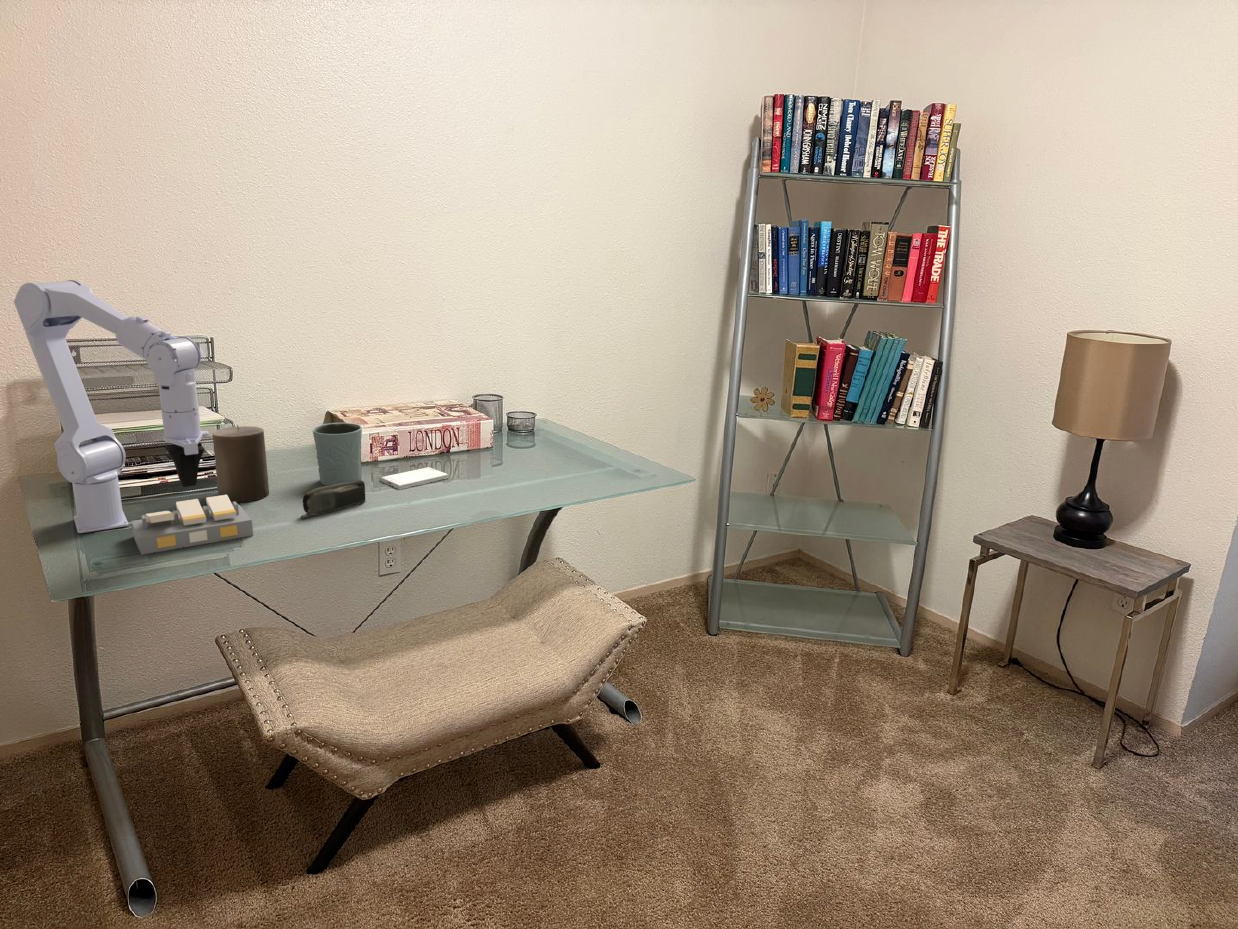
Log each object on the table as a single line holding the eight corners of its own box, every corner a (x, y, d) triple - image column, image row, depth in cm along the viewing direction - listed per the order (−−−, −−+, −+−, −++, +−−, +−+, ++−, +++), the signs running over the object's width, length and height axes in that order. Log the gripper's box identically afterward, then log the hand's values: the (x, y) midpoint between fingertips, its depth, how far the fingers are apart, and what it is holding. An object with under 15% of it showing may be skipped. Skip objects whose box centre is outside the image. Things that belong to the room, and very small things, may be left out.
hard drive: (427, 466, 199) (379, 476, 190) (448, 474, 193) (399, 484, 185) (428, 473, 199) (379, 483, 191) (448, 481, 194) (399, 491, 185)
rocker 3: (206, 502, 159) (205, 497, 158) (227, 499, 161) (227, 494, 160) (214, 520, 154) (214, 515, 153) (236, 517, 156) (236, 512, 155)
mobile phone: (358, 477, 177) (293, 492, 166) (368, 480, 176) (303, 495, 164) (359, 500, 179) (295, 517, 167) (368, 503, 177) (304, 520, 165)
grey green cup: (357, 472, 196) (354, 420, 193) (370, 484, 188) (367, 430, 185) (311, 478, 191) (307, 425, 188) (322, 490, 183) (318, 435, 180)
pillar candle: (265, 501, 175) (259, 429, 171) (213, 503, 173) (206, 430, 169) (272, 487, 184) (267, 418, 180) (223, 489, 182) (216, 420, 178)
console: (133, 536, 154) (129, 510, 153) (240, 519, 164) (238, 494, 163) (141, 555, 146) (137, 527, 145) (253, 535, 157) (251, 509, 155)
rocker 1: (146, 519, 153) (145, 513, 153) (168, 516, 155) (167, 510, 155) (151, 523, 148) (150, 516, 148) (174, 519, 150) (173, 513, 150)
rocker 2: (176, 506, 156) (175, 501, 155) (198, 503, 158) (197, 498, 157) (184, 525, 151) (183, 520, 150) (206, 522, 153) (205, 516, 153)
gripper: (214, 415, 145) (222, 492, 149) (197, 399, 156) (205, 471, 160) (167, 419, 141) (176, 498, 145) (153, 403, 152) (162, 477, 156)
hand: (188, 485), depth 152 cm, fingers closed
